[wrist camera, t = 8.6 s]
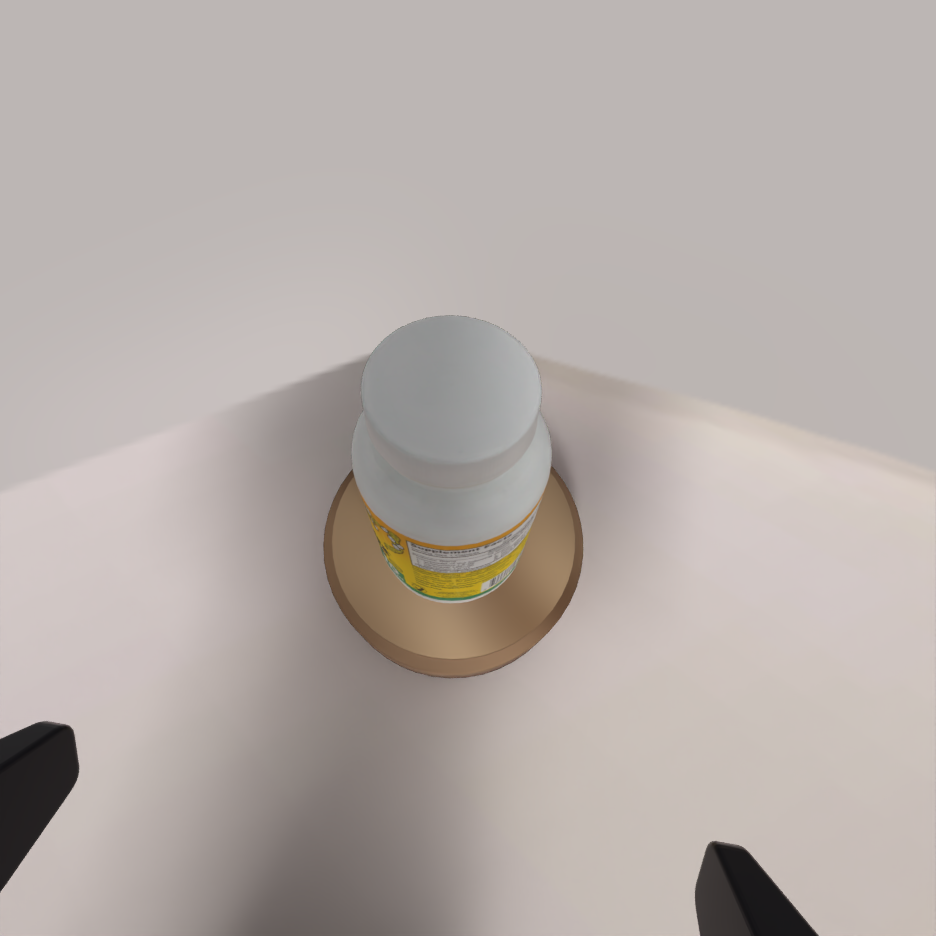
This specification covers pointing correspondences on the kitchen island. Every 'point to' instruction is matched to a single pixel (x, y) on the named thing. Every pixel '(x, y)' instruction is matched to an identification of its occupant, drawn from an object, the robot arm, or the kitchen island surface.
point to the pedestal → (454, 624)
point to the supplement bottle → (451, 454)
